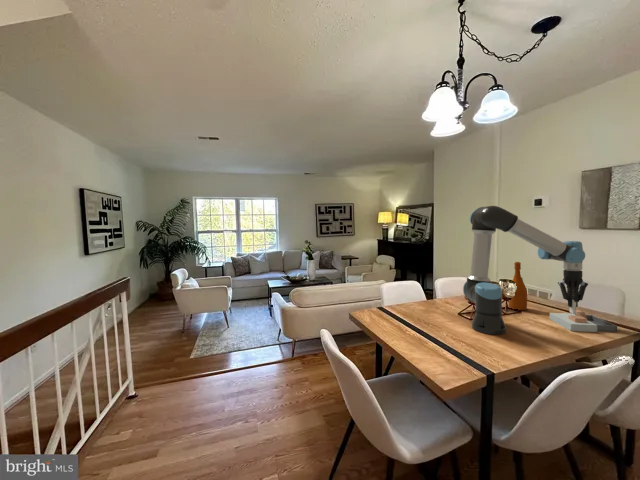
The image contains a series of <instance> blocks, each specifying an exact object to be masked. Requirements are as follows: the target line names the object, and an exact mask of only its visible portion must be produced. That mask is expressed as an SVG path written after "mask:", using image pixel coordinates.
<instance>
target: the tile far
mask: <svg viewBox="0 0 640 480" xmlns="http://www.w3.org/2000/svg"><path fill="white" fill-rule="evenodd" d="M575 315H577V316H582V317H584V318H586V319H587V317H586V315H587V314H586V312H584V311H582V310H580V309H576V314H575ZM587 321H588V319H587Z"/></svg>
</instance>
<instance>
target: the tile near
mask: <svg viewBox="0 0 640 480" xmlns="http://www.w3.org/2000/svg"><path fill="white" fill-rule="evenodd" d="M569 320H571V321H573V322H579V323H587V319H586V318H584V317H582V316H574V315H569Z"/></svg>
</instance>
